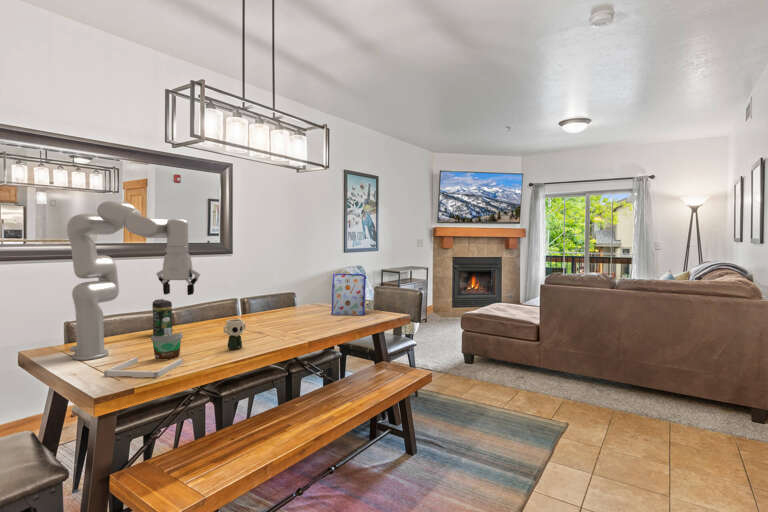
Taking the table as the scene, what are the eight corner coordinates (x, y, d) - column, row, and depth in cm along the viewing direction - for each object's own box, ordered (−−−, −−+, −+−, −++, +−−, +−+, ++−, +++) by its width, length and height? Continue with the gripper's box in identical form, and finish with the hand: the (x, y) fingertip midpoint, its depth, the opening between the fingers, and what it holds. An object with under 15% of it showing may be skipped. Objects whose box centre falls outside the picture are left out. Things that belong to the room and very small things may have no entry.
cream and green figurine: (228, 352, 186) (227, 323, 185) (219, 349, 190) (219, 321, 189) (249, 347, 194) (249, 319, 193) (241, 344, 198) (241, 317, 198)
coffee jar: (150, 335, 215) (149, 299, 215) (166, 332, 222) (165, 297, 221) (158, 338, 209) (157, 301, 208) (174, 335, 215) (174, 299, 214)
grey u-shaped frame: (104, 376, 153) (104, 370, 153) (135, 362, 170) (135, 357, 170) (156, 377, 152) (156, 372, 152) (182, 363, 169) (182, 358, 169)
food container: (154, 362, 170) (154, 338, 170) (151, 359, 175) (150, 335, 174) (186, 356, 178) (186, 333, 178) (182, 353, 183) (182, 331, 183)
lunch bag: (365, 311, 289) (366, 272, 288) (366, 315, 273) (366, 274, 271) (332, 311, 288) (332, 272, 287) (330, 315, 271) (331, 274, 270)
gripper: (150, 251, 162) (151, 295, 162) (194, 251, 160) (194, 296, 161) (162, 250, 169) (163, 292, 170) (204, 250, 168) (204, 293, 169)
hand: (178, 294), depth 165 cm, fingers open, 9 cm apart
